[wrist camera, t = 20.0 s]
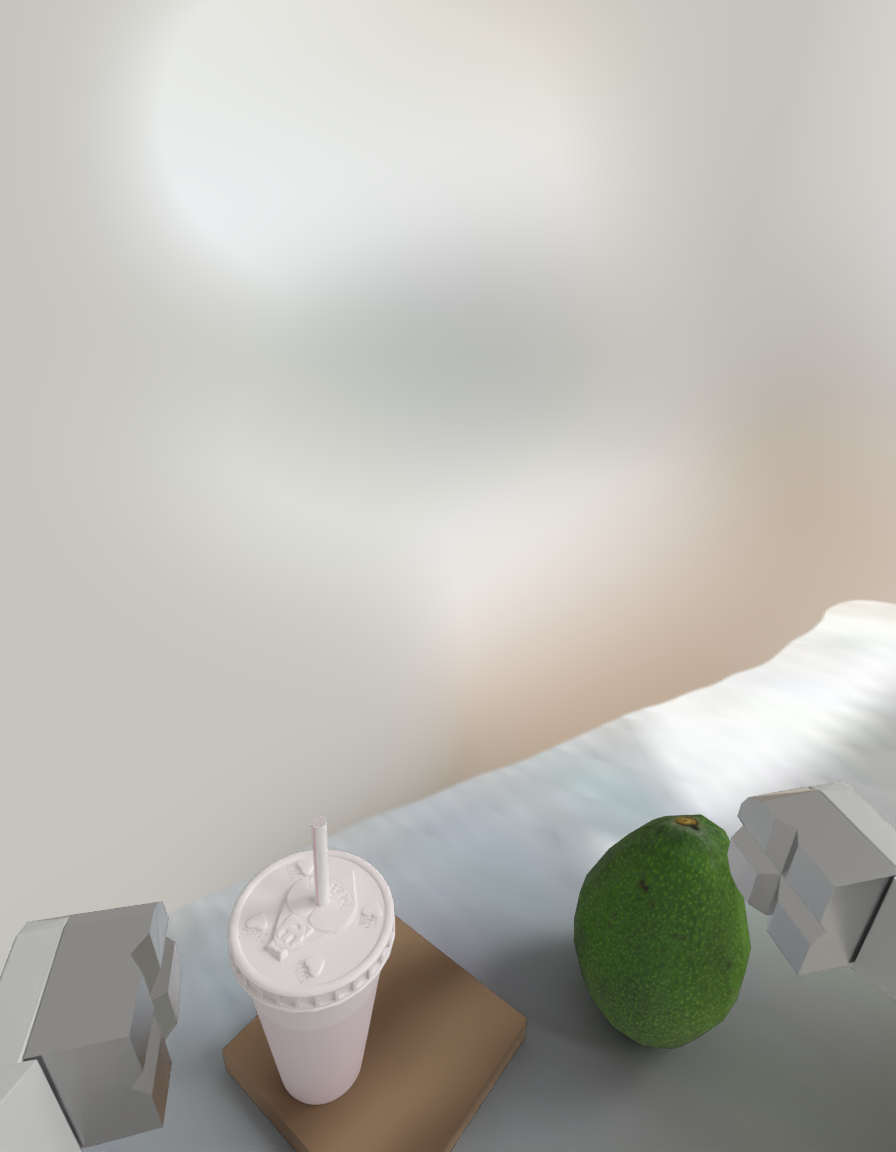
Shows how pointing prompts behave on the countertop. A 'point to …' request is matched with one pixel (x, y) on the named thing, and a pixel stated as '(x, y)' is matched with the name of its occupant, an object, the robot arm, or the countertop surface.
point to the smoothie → (313, 961)
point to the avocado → (663, 932)
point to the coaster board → (397, 1061)
